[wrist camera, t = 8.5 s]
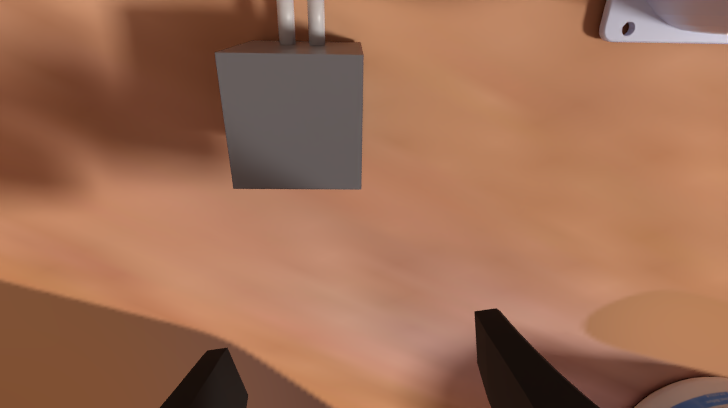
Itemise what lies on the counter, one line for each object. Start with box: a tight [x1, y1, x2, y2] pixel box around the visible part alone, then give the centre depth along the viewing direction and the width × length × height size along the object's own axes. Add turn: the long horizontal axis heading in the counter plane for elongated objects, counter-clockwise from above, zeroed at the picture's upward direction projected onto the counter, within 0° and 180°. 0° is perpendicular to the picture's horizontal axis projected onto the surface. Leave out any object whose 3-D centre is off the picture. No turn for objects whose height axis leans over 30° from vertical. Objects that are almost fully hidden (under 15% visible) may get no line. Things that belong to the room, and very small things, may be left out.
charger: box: [215, 0, 363, 189], centre depth 15 cm, size 6×4×5 cm
